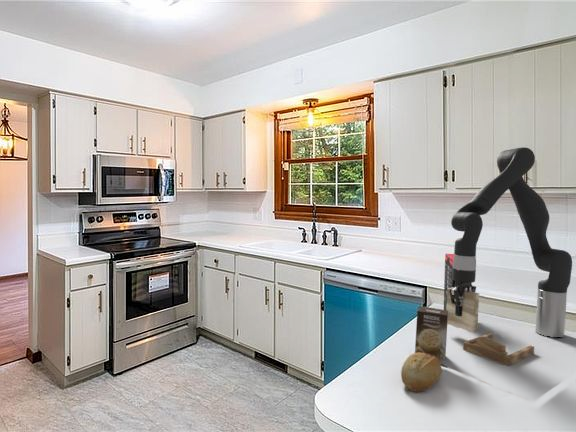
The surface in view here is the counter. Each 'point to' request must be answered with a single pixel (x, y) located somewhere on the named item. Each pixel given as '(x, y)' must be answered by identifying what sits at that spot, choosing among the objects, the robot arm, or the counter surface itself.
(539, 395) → the counter surface
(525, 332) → the counter surface
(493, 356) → the rack
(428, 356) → the bread roll
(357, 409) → the counter surface
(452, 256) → the graphics card box
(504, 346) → the slat top
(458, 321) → the tall beige block
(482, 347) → the slat middle
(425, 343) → the coffee box
